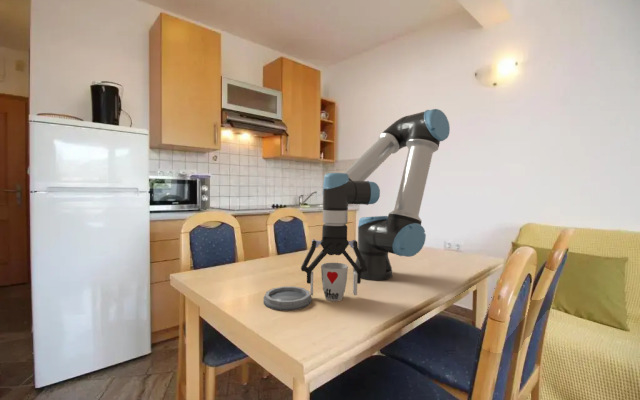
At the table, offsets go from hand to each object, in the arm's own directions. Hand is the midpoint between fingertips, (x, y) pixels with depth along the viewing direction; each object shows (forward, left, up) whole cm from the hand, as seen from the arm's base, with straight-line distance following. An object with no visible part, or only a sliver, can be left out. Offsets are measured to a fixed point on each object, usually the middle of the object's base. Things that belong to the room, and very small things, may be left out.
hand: (333, 293), depth 89 cm
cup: (0, 0, -1) cm, 2 cm away
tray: (+14, +2, -1) cm, 14 cm away
